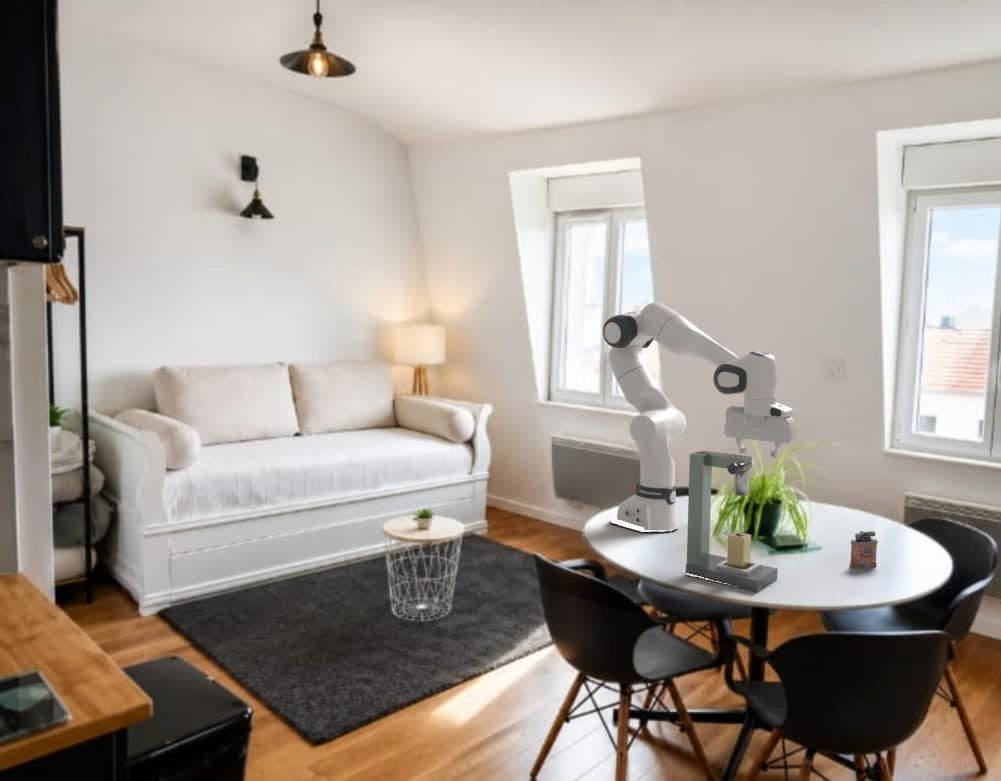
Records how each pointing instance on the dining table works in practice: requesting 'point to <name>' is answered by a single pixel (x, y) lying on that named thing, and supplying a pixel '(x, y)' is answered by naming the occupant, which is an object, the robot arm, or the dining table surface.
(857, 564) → the lighter
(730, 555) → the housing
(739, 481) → the press
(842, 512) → the dining table surface
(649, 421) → the robot arm
